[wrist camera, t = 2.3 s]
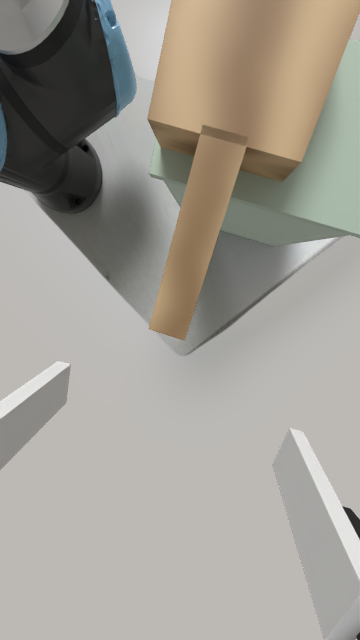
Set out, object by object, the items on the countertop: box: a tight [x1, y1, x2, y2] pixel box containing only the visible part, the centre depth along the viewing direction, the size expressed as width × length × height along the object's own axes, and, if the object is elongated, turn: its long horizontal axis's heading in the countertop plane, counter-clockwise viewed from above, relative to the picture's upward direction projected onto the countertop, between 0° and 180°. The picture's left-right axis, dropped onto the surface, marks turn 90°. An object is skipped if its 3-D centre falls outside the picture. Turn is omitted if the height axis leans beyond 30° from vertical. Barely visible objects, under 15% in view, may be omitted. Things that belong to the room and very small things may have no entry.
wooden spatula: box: [147, 0, 360, 341], centre depth 17 cm, size 10×22×4 cm, turn 163°
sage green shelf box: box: [149, 38, 360, 246], centre depth 31 cm, size 19×11×30 cm, turn 73°
